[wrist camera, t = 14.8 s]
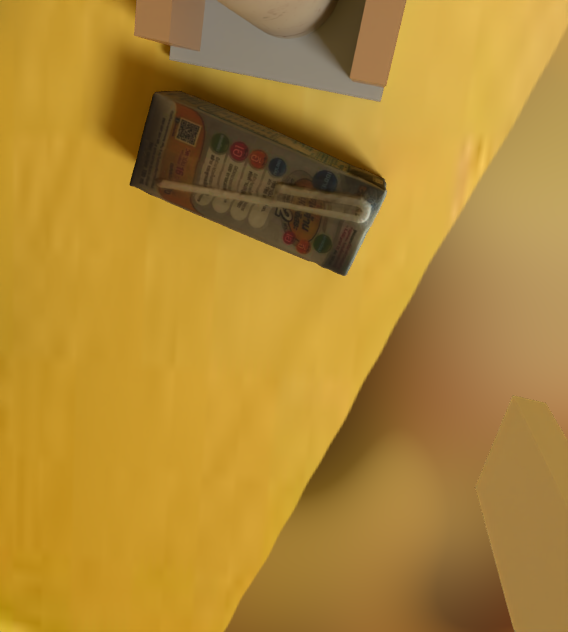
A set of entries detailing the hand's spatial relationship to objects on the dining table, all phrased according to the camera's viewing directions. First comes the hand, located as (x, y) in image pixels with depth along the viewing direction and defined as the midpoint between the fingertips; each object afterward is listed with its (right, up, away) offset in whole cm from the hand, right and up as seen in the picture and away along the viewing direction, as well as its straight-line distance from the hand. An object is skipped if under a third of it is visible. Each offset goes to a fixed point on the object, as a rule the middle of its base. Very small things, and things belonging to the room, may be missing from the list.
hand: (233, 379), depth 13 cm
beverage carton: (0, +14, +33) cm, 36 cm away
